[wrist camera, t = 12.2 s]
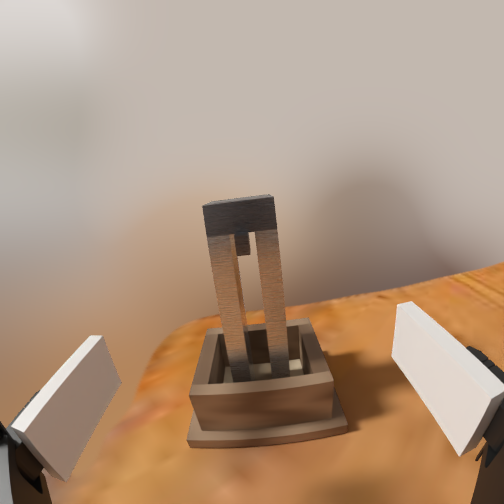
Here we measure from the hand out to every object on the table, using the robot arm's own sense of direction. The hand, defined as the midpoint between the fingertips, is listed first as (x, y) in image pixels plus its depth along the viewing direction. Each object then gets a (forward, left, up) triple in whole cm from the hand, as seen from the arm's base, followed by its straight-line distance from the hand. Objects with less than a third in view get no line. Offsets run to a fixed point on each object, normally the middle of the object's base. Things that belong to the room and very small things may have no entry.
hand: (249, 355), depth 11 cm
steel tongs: (0, -10, -10) cm, 14 cm away
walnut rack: (0, -10, -11) cm, 15 cm away
